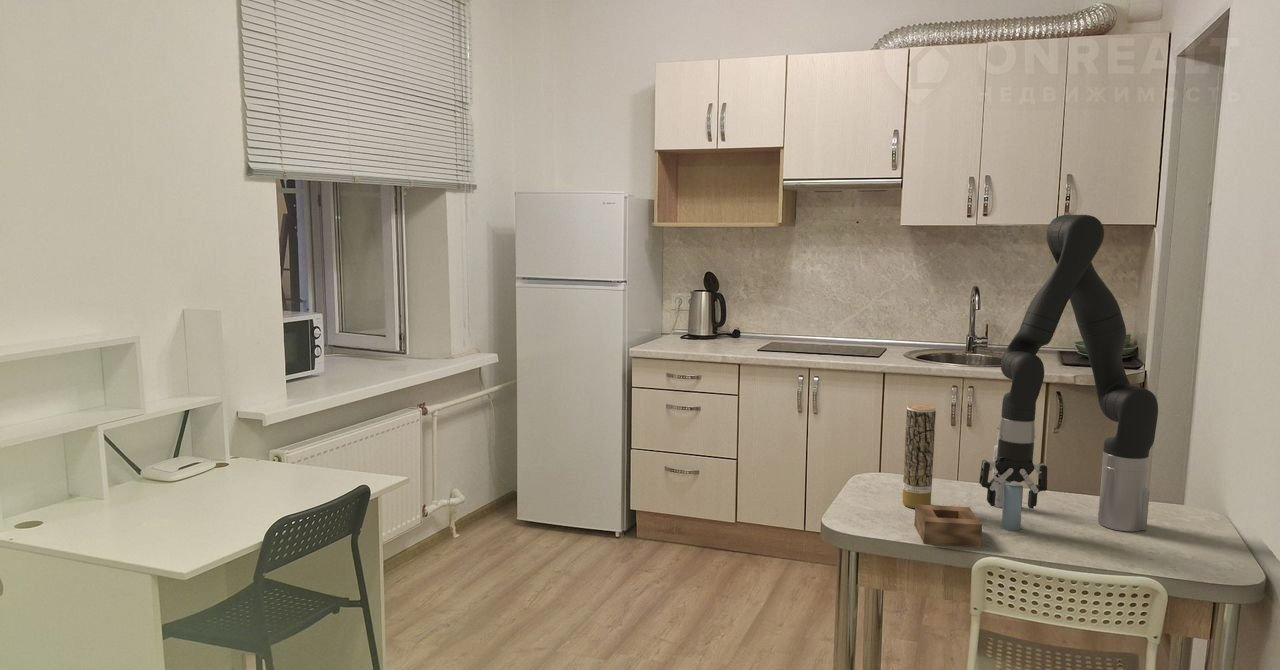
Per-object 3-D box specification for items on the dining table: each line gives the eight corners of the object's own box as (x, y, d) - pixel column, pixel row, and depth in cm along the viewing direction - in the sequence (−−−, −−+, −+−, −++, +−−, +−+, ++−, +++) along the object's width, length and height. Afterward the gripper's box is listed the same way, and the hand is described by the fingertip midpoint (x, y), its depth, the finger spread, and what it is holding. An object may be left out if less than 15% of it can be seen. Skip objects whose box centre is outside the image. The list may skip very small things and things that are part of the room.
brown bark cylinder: (934, 510, 211) (939, 410, 208) (906, 509, 211) (911, 410, 208) (925, 501, 218) (930, 404, 215) (898, 501, 218) (903, 404, 215)
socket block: (967, 528, 198) (969, 507, 198) (980, 546, 187) (982, 524, 186) (914, 525, 200) (915, 504, 200) (923, 543, 188) (924, 521, 188)
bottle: (989, 501, 218) (993, 424, 216) (1007, 503, 217) (1012, 425, 215) (992, 507, 214) (997, 428, 211) (1011, 508, 213) (1016, 429, 210)
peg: (1017, 525, 201) (1020, 483, 200) (1022, 531, 197) (1025, 488, 196) (999, 524, 201) (1002, 482, 200) (1004, 530, 197) (1006, 487, 196)
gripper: (1043, 435, 199) (1038, 503, 201) (979, 432, 201) (975, 499, 203) (1054, 443, 192) (1048, 513, 194) (988, 440, 194) (983, 509, 196)
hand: (1011, 506), depth 198 cm, fingers open, 8 cm apart
